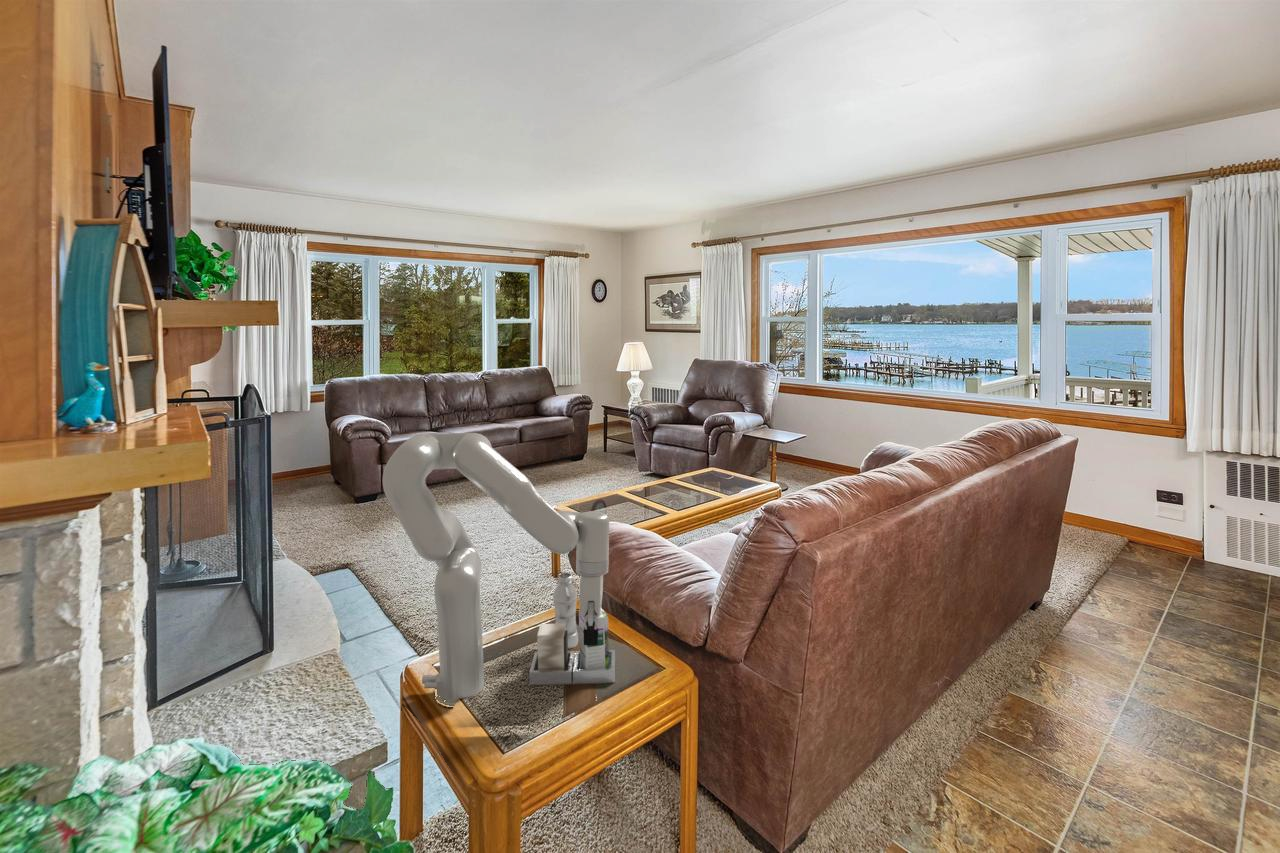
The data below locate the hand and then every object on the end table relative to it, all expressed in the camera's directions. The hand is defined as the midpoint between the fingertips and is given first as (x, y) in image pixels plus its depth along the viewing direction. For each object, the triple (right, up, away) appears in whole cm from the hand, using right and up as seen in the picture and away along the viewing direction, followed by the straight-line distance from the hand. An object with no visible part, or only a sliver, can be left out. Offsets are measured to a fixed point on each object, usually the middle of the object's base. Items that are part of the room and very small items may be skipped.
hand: (591, 634), depth 145 cm
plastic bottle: (-8, -9, +16) cm, 20 cm away
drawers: (-4, -11, +1) cm, 12 cm away
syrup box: (+1, -9, +2) cm, 9 cm away
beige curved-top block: (-9, -9, +1) cm, 13 cm away
